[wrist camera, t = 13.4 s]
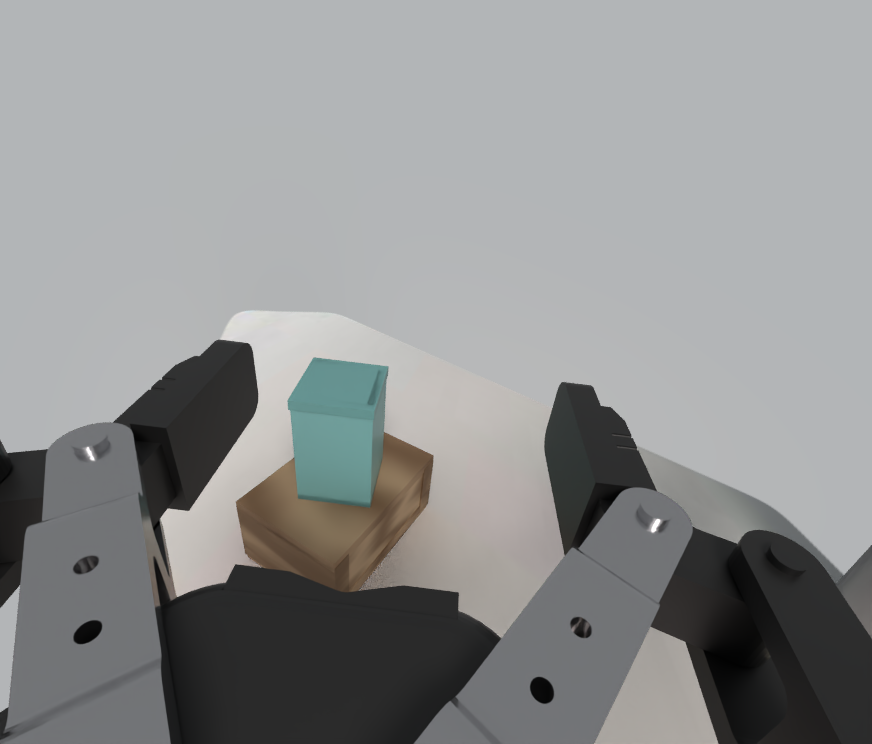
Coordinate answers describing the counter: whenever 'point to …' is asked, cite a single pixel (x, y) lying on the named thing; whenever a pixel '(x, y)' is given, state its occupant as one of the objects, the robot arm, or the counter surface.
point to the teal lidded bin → (338, 431)
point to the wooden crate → (335, 521)
